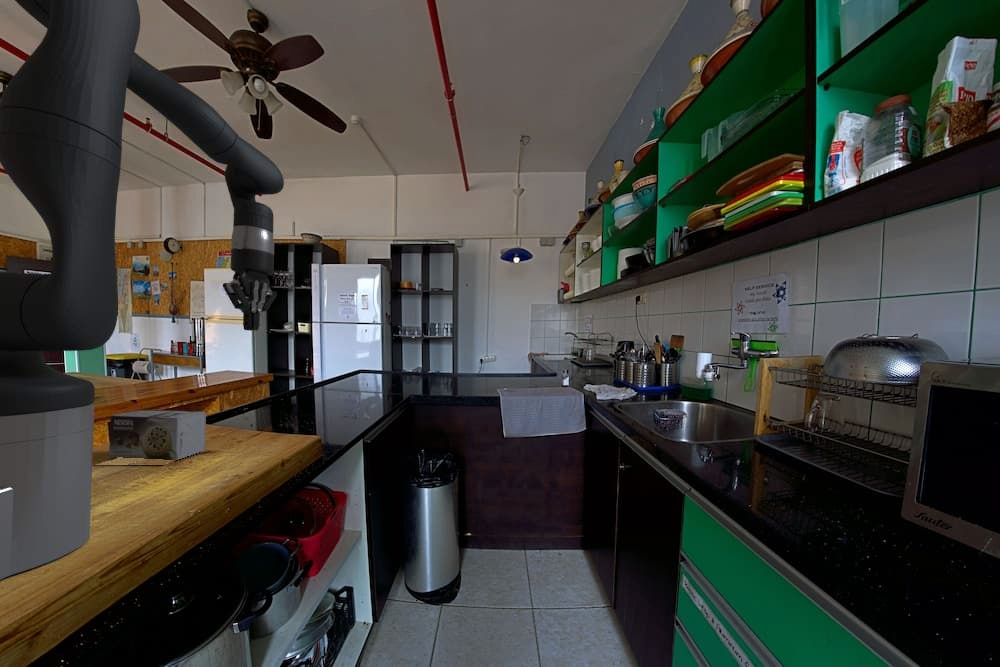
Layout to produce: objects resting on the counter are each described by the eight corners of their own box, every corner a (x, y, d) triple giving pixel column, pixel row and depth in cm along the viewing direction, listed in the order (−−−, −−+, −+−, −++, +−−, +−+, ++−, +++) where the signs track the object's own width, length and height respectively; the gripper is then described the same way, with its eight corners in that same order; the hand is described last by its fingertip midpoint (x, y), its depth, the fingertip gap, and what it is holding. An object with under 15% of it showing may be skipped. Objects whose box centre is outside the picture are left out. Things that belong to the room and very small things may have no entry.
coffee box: (207, 410, 74) (144, 408, 76) (177, 417, 68) (108, 414, 69) (206, 451, 74) (143, 447, 76) (175, 461, 68) (107, 457, 69)
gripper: (258, 259, 78) (256, 331, 78) (209, 242, 65) (206, 329, 65) (289, 259, 78) (288, 331, 78) (246, 242, 65) (244, 329, 64)
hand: (251, 330), depth 71 cm, fingers closed
